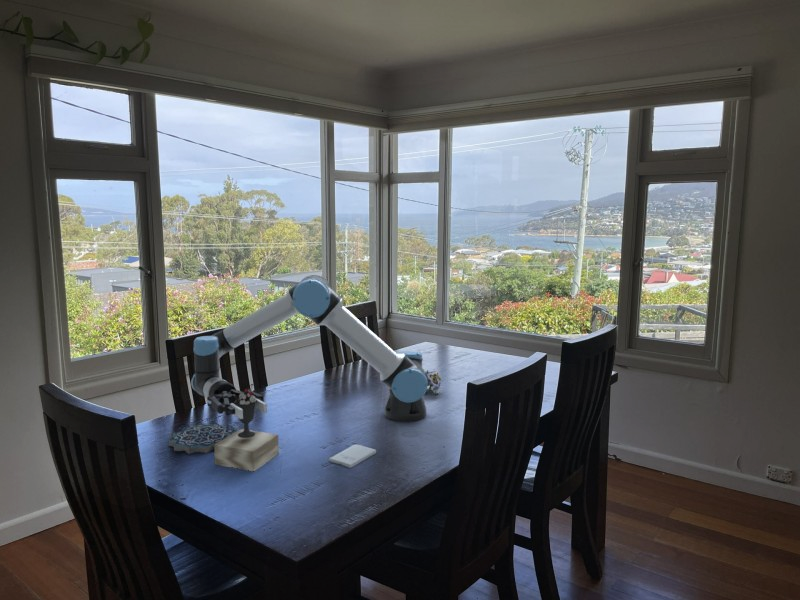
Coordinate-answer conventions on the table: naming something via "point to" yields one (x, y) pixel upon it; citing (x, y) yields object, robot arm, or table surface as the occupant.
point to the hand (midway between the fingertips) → (253, 411)
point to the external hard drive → (352, 455)
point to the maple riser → (246, 450)
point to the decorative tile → (199, 437)
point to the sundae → (246, 411)
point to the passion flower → (433, 381)
